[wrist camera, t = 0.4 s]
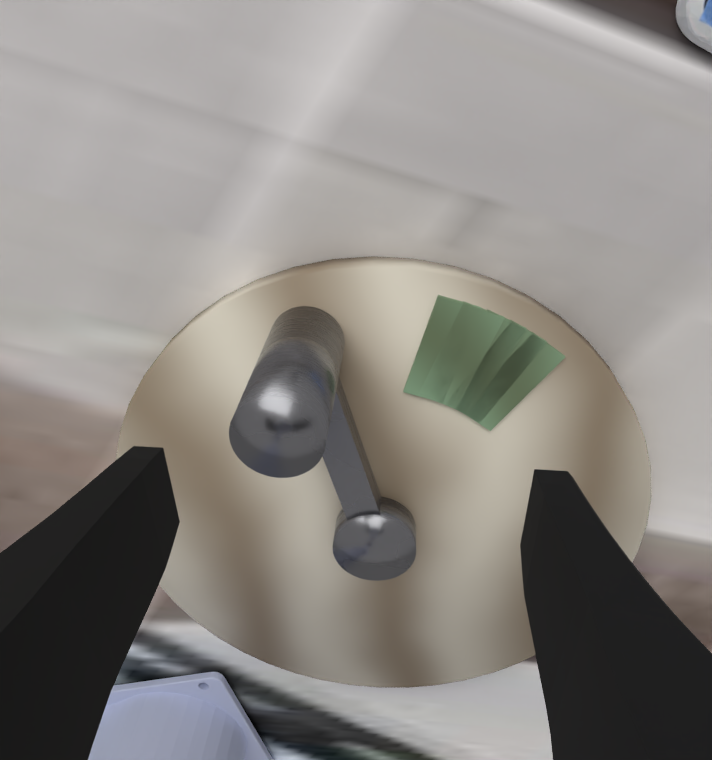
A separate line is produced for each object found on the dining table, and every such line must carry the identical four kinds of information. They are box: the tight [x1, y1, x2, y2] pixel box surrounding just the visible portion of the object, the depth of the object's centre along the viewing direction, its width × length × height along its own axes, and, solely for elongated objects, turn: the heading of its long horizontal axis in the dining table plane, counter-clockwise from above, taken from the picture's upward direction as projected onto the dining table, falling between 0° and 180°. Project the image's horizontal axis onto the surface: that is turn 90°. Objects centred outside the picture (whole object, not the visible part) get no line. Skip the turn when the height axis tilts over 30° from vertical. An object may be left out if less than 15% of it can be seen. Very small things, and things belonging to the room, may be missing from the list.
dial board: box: [116, 257, 651, 687], centre depth 25 cm, size 20×20×1 cm
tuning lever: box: [229, 306, 416, 581], centre depth 20 cm, size 11×3×6 cm, turn 17°
